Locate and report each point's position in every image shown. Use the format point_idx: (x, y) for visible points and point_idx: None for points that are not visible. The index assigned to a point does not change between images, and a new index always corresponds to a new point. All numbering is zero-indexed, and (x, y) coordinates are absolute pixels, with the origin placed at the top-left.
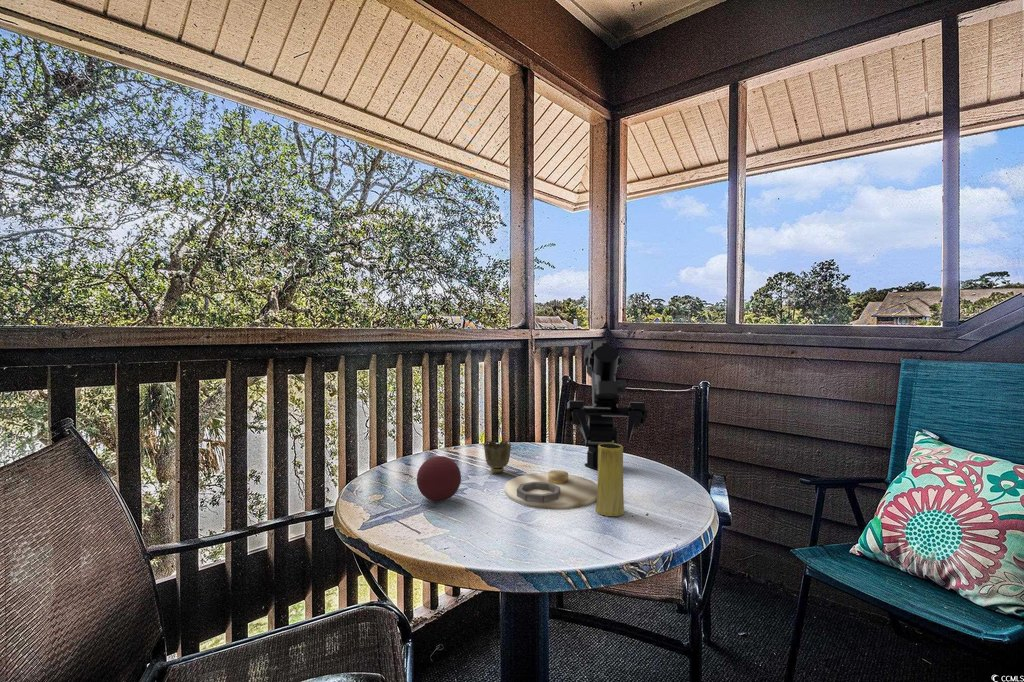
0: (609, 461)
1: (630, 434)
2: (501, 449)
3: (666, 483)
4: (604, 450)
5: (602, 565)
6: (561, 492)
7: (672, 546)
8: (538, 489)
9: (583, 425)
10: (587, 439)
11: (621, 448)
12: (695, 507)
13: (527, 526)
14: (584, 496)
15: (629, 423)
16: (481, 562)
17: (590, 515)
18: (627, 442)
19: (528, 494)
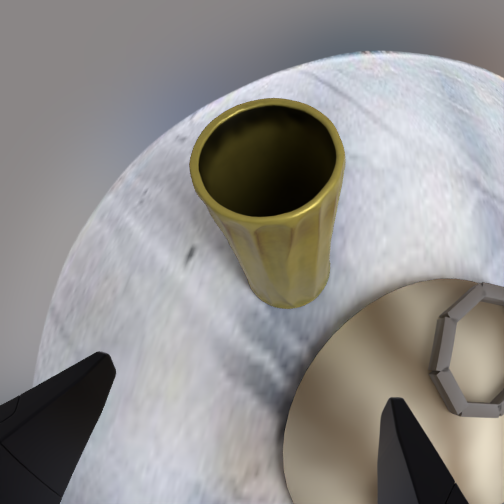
0: (288, 143)
1: (60, 372)
2: None
3: (76, 475)
4: (311, 117)
5: (333, 58)
6: (422, 386)
7: (203, 110)
8: (482, 401)
9: (448, 495)
10: (396, 400)
11: (212, 124)
12: (69, 301)
13: (477, 176)
14: (354, 354)
15: (6, 424)
16: (486, 79)
17: (347, 239)
18: (110, 358)
19: None
